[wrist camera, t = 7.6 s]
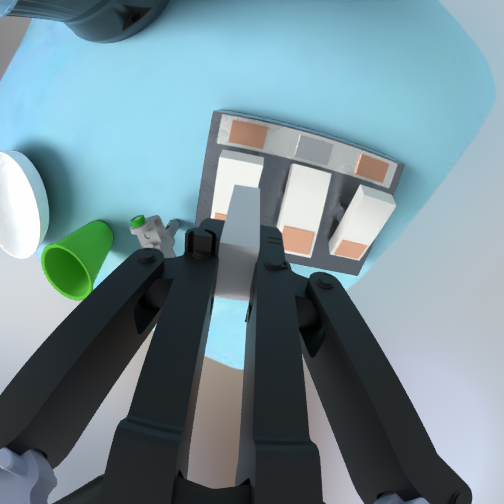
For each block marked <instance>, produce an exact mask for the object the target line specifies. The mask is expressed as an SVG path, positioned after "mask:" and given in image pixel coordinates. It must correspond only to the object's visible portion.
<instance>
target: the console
mask: <svg viewBox="0 0 504 504" xmlns="http://www.w3.org/2000/svg"><path fill="white" fill-rule="evenodd" d="M223 149H224V150H230V151H235V152H240V153H245V154H250V155H255V156H259V157H264V163H263V169H262V173H261V176H260V180H259V184H258V188H260V225H264V226H270V227H277V223H278V219H279V214H280V210H281V206H282V201H283V197H284V193H285V188H286V184H287V179H288V175H289V170H290V166H291V164H298V165H302V166H305V167H309V168H313V169H317V170H320V171H324V172H327V173H331V178H330V183H329V187H328V192H327V196H326V200H325V204H324V209H323V213H322V217H321V221H320V225H319V229H318V233H317V236H316V240H315V244H314V248H313V252H312V255H311V258H308V257H303V256H298V255H293V254H288V253H285V260H286V261H287V262H289V263H294V264H299V265H304V266H309V267H315V268H320V269H325V270H330V271H335V272H340V273H345V274H351V275H356V276H358V274H359V272H360V270H361V268H362V266H363V264H364V262H365V260H366V258H367V256H368V253H369V251H370V249H371V247H372V245H373V242H374V241H373V242H372V243H371V245H370V246H369V248H368V249H367V251H366V252H365V253H364V255H363V256H362V258H361V259H360V260H354V259H350V258H345V257H340V256H336V255H331V254H330V251H329V241H330V239H331V238H332V236H333V234H334V232H335V231H336V229H337V227H338V225H339V223H340V222H341V220H342V218H343V216H344V214H345V212H346V210H347V209H348V207H349V205H350V203H351V201H352V199H353V197H354V195H355V194H356V192H357V190H358V188H359V186H360V184H361V185H364V186H367V187H370V188H373V189H376V190H379V191H382V192H385V193H388V194H391V195H392V196H393V195H394V192H395V189H396V187H397V184H398V181H399V179H400V176H401V173H402V170H403V167H404V164H402V163H401V162H399V161H397V160H395V159H393V158H391V157H390V156H388V155H385V154H383V153H380V152H378V151H375V150H372V149H370V148H367V147H364V146H362V145H359V144H356V143H353V142H350V141H347V140H344V139H341V138H338V137H335V136H332V135H329V134H325V133H322V132H319V131H315V130H312V129H308V128H304V127H301V126H297V125H293V124H289V123H285V122H281V121H277V120H273V119H268V118H264V117H259V116H254V115H249V114H244V113H238V112H233V111H227V110H221V109H220V110H215V111H213V115H212V120H211V125H210V131H209V136H208V142H207V148H206V153H205V159H204V166H203V172H202V178H201V185H200V192H199V199H198V206H197V214H196V221H195V228H196V227H199V226H200V223H201V222H202V221H203V220H205V219H206V218H211V212H212V204H213V197H214V190H215V183H216V176H217V169H218V162H219V157H220V154H221V152H222V150H223ZM374 240H375V239H374Z"/></svg>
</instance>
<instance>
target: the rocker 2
mask: <svg viewBox="0 0 504 504" xmlns="http://www.w3.org/2000/svg"><path fill="white" fill-rule="evenodd" d="M330 178H331V173H327V172H324V171H320V170H317V169H313V168H309V167H305V166H302V165H298V164H291V166H290V170H289V175H288V179H287V184H286V188H285V193H284V197H283V201H282V206H281V210H280V214H279V219H278V223H277V227H276V228H278V229H279V230H280V232H281V233H282V237H283V245H284V252H285V253H288V254H293V255H298V256H303V257H308V258H311V255H312V252H313V248H314V244H315V240H316V236H317V233H318V229H319V225H320V221H321V217H322V213H323V209H324V204H325V200H326V196H327V192H328V187H329V183H330Z"/></svg>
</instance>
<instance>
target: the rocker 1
mask: <svg viewBox="0 0 504 504" xmlns="http://www.w3.org/2000/svg"><path fill="white" fill-rule="evenodd" d="M263 163H264V157H259V156H255V155H250V154H245V153H240V152H235V151H230V150H224V149H223V150H222V152H221V154H220V157H219V162H218V169H217V176H216V183H215V190H214V197H213V204H212V212H211V218H212V219H219V220H226V216H227V212H228V208H229V204H230V200H231V196H232V193H233V189H234V185H242V186H248V187H254V188H258V184H259V180H260V176H261V173H262V169H263Z"/></svg>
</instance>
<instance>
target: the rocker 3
mask: <svg viewBox="0 0 504 504" xmlns="http://www.w3.org/2000/svg"><path fill="white" fill-rule="evenodd" d="M396 206H397V205H396V203H395V201H394V198H393V196H392V195H391V194H388V193H385V192H382V191H379V190H376V189H373V188H370V187H367V186H364V185H361V184H360V186H359V188H358V190H357V192H356V194H355V195H354V197H353V199H352V201H351V203H350V205H349V207H348V209H347V210H346V212H345V214H344V216H343V218H342V220H341V222H340V223H339V225H338V227H337V229H336V231H335V232H334V234H333V236H332V238H331V239H330V241H329V251H330V254H331V255H336V256H340V257H345V258H350V259H354V260H360V259H361V258H362V256H363V255H364V253H365V252H366V251H367V249H368V248H369V246H370V245H371V243H372V242H373V241H374V239H375V238H376V236H377V235H378V233H379V232H380V230H381V229H382V227H383V226H384V224H385V223H386V221H387V220H388V218H389V217H390V215H391V214H392V212H393V211H394V209H395V208H396Z"/></svg>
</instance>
